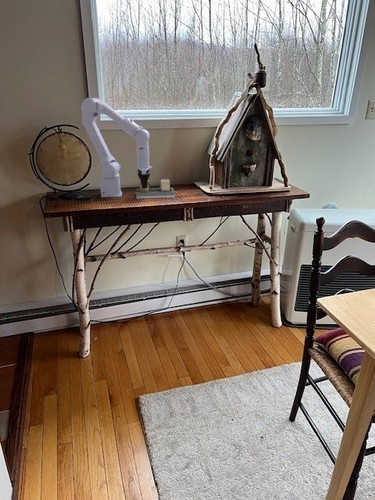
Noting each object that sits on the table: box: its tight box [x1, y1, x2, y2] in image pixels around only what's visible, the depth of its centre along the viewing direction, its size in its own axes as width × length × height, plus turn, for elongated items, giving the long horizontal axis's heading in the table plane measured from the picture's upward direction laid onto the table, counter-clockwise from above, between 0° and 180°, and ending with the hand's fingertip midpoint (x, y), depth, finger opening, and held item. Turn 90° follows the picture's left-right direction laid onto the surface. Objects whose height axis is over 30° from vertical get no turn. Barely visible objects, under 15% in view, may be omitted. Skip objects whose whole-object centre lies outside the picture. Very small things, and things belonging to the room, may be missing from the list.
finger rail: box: [135, 179, 175, 200], centre depth 173 cm, size 18×9×7 cm, turn 98°
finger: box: [139, 180, 151, 192], centre depth 172 cm, size 4×4×6 cm
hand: (144, 186), depth 172 cm, fingers open, 7 cm apart
